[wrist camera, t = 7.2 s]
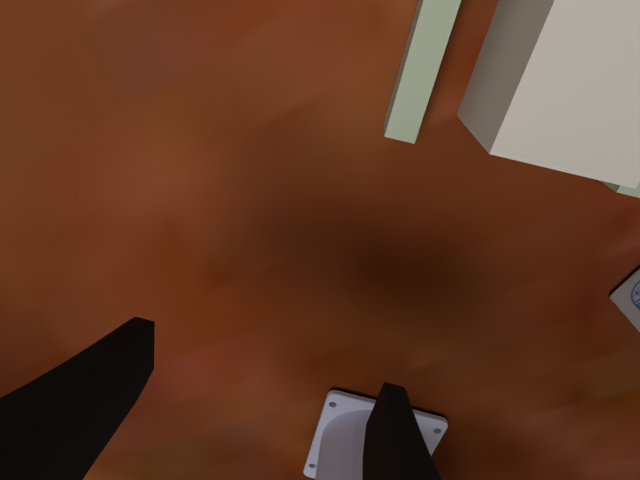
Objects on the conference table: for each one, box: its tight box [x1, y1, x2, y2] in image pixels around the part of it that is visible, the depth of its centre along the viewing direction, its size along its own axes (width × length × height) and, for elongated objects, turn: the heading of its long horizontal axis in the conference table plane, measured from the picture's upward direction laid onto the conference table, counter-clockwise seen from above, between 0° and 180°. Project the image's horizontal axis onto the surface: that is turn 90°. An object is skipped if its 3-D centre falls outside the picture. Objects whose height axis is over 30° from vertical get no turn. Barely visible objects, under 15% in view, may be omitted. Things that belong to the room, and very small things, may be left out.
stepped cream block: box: [457, 0, 640, 189], centre depth 13 cm, size 8×4×6 cm, turn 168°
